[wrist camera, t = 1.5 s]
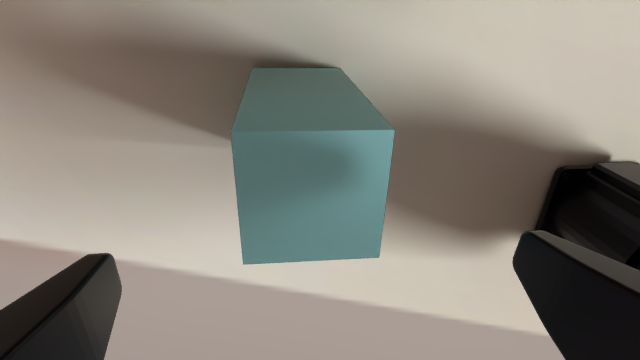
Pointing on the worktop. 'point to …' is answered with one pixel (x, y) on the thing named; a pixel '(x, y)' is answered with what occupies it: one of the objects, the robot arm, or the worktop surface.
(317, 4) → the worktop surface
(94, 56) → the worktop surface
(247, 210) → the peg
